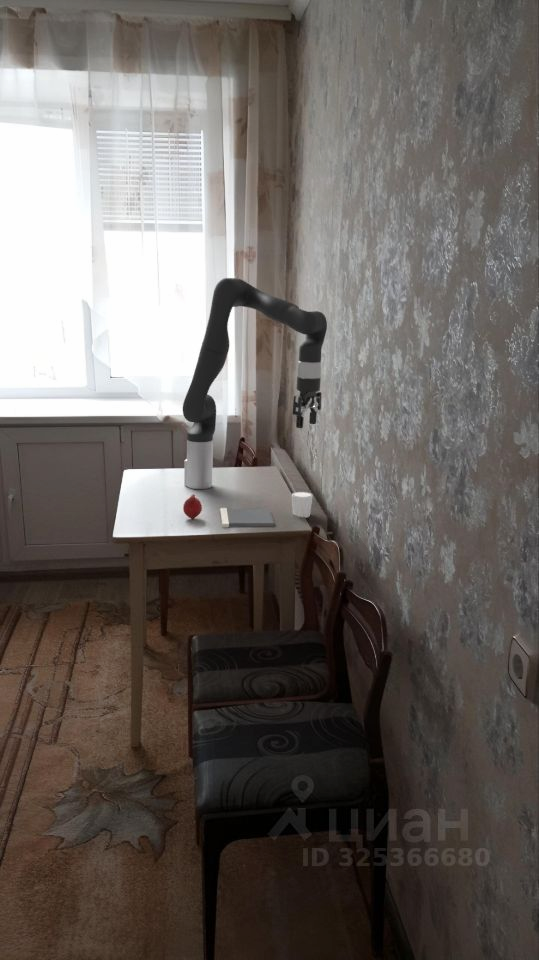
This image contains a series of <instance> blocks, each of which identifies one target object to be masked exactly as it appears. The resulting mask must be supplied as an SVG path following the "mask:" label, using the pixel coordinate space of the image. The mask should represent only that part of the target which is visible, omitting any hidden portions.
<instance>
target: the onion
mask: <svg viewBox="0 0 539 960" xmlns="http://www.w3.org/2000/svg"><path fill="white" fill-rule="evenodd" d="M182 508H183V512H184V514H185V515H186V516H187V517H188V518H189V519H191V520H194V519H196V518H197V517H199V515H200V514H201V513H202V511H203V506H202V502H201V501H200V500H199V498H196V495H195V494H191V495H190V497H188V498H187V499H186V500H185V501H184V503H183V507H182Z"/></svg>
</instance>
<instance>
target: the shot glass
mask: <svg viewBox="0 0 539 960" xmlns="http://www.w3.org/2000/svg"><path fill="white" fill-rule="evenodd" d="M313 497H314V494H313V493H311V492H307V491H297V492H296V491H295V492H293V493H291V504H292V515H293V514H294V515H297V516H304V517H305V518H309V517H310V516H311V512H312V511H311V510H312V503H313ZM305 518H304V519H305Z"/></svg>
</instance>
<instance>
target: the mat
mask: <svg viewBox="0 0 539 960" xmlns="http://www.w3.org/2000/svg"><path fill="white" fill-rule="evenodd" d="M219 508H220V510H219V511H220V512H219V513H220V518H221V519H220V520H221V527H222V528H230V527H274V526H275V522H274V519H273V515H272V512H271V510H270V508H248V509H247V508H245V509H244V508H243V509H242V508H241V509H240V508H238V509H237V508H233V509H232V508H227V507H219Z"/></svg>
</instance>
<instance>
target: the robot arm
mask: <svg viewBox="0 0 539 960" xmlns="http://www.w3.org/2000/svg"><path fill="white" fill-rule="evenodd" d="M212 294H213V295H212V300H211V305H210V312H209V316H208V321H207V325H206V327H205V328H206V329H205V333H204V336H203V339H202V343H201V347H200V349H199V354H198V358H197V362H196V365H195V367H194V368H195V369H194V372H193V375H192V376H193V377H192V378H191V379H192V380H191V383H190V385H189V388H188V390H187V392H186V395H185V398H184V400H183V403H182V414H183V417H184V419H185V420H186V421H187V422H189V423H193V425H192V426H191V428H190V429H188V431H187V432H186V459H184V462H183V463H184V465H183V466H184V473H183V474H184V476H183V477H184V482H183V483H184V486H185V487H187V488H189V489H194V490H206V489H211V488H212V487H213V459H214V457H213V456H214V455H213V453H214V451H213V447H214V439H213V438H214V434H215V431H216V423H217V422H216V421H217V406H216V402H215V400H214V398H213V396H212V395H210V394H208V393H209V391H210V387H211V386H212V385H213V383H214V382H215V380H216V378H217V377H218V376H219V374H220V373H221V371H222V370H223V369H224V366H225V364H226V362H227V357H228V354H229V351H230V337H229V329H228V325H229V324H228V322H229V318H230V315H231V313H232V310H233V308H238V307H244V308H249V309H253V310H256V311H258V312H260V313H262V314H263V315H264V316H265V317H267V318H269V319H270V320H273V321H275V322H277V323H279V324H282V325H285V326H288V327H289V328H290V329H292V330H294V331H296V332H297V333H300V334H301V335H305V339H304V341H302V343H300V346H299V351H298V352H299V353H298V365H297V369H296V390H297V391H298V392H299V395H294V396H293V403H292V413H291V414H292V415H293V416H295V417H296V420H295V422H296V424H295V427H296V428H297V429H303V428H304V418H305V417H304V415H305V413H306V411H308V409H309V420H308V421H309V424H311V425H316V424H317V419H318V418H317V416H318V415H317V414H318V412H319V411H321V410H322V392H321V380H322V379H321V378H322V349H323V348H322V347H323V344H324V342H325V338H326V333H327V329H328V321H327V318H326V315H325V314H324V313H323V312H321V311H315V310H313V311H307V310H305V309H301V308H300V307H299V306H298V305H297V304H294V303H292V302H290V301H287V300H285V299H282V298H279V297H276V296H273V295H271V294H268V293H266V292H264V291H261V289H258V288H256V287H254V286H253V285H252V284H250V283H248V282H247V281H246V280H243V279H241V278H237V277H223V278H221V279H219V281H217V283H216V284H215V286H214V289H213V293H212Z"/></svg>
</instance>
